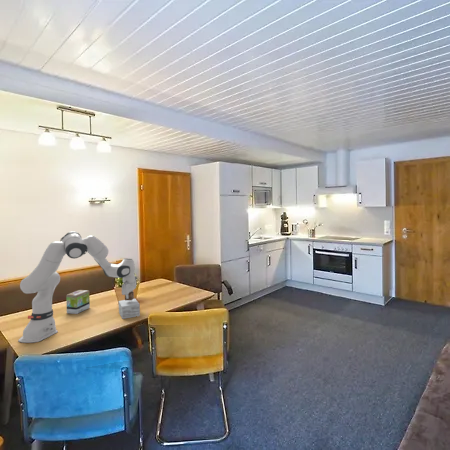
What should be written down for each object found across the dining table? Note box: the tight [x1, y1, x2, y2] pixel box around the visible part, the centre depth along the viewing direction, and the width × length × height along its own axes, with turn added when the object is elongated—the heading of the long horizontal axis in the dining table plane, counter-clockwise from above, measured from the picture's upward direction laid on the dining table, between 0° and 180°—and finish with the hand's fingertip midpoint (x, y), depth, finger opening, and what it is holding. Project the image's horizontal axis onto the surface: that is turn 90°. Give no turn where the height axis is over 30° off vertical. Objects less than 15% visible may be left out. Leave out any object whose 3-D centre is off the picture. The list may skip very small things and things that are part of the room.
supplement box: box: [117, 298, 141, 320], centre depth 228 cm, size 17×13×9 cm
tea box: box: [65, 289, 91, 315], centre depth 237 cm, size 15×10×15 cm
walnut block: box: [124, 291, 135, 300], centre depth 228 cm, size 5×5×5 cm
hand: (129, 297), depth 228 cm, fingers closed on walnut block, 5 cm apart
